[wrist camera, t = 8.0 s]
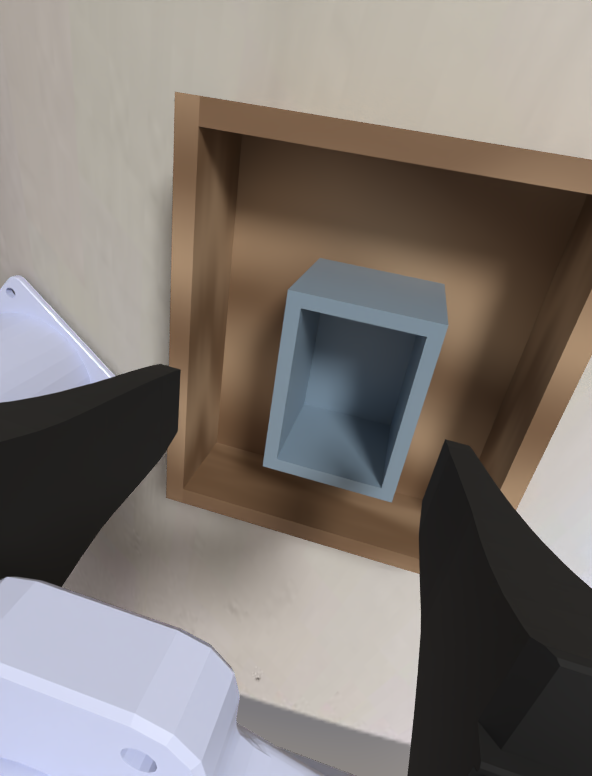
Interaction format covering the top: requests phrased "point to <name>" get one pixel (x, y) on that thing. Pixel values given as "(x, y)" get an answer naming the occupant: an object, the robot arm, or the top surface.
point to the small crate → (353, 375)
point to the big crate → (380, 252)
